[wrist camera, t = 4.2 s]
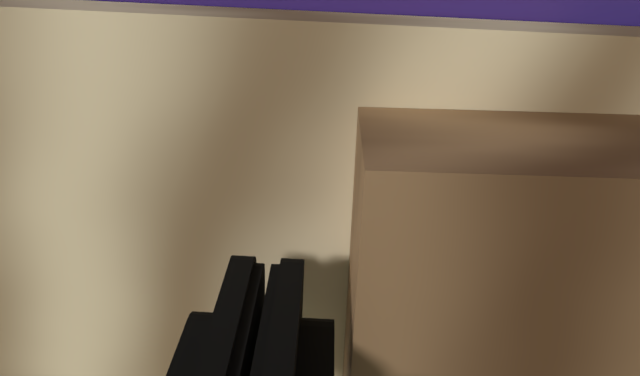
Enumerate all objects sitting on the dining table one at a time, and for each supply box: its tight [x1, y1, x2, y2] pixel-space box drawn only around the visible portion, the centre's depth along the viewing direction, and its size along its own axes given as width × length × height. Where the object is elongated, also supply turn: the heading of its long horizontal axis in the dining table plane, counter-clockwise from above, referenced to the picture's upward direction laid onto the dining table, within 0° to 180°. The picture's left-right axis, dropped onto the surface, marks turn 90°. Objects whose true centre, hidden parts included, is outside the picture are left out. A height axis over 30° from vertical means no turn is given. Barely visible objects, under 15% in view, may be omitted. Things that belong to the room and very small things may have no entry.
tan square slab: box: [342, 107, 640, 376], centre depth 11 cm, size 8×9×3 cm
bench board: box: [0, 0, 640, 376], centre depth 11 cm, size 29×12×6 cm, turn 88°
